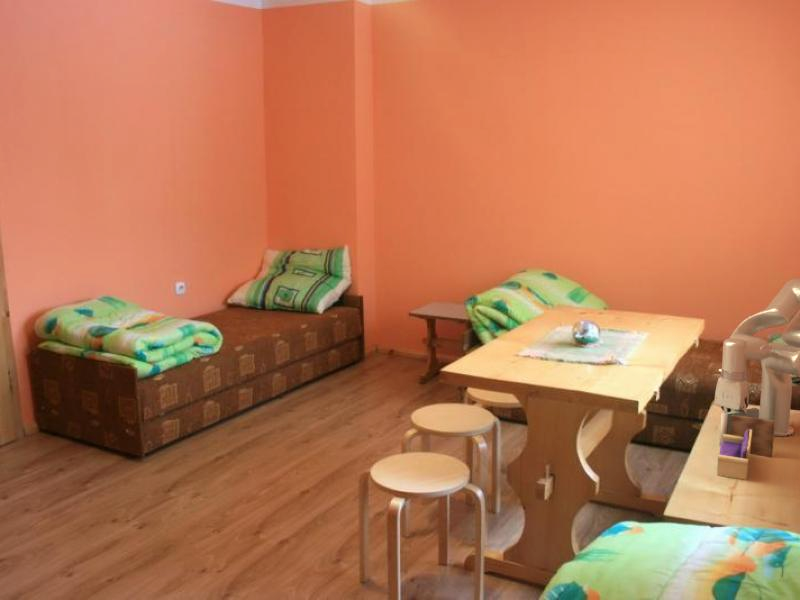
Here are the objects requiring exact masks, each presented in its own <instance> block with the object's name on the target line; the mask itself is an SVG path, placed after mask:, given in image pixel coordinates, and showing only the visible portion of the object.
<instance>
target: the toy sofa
mask: <svg viewBox="0 0 800 600" xmlns="http://www.w3.org/2000/svg"><path fill="white" fill-rule="evenodd" d="M751 438H752V429H747V430H746V431H745V434H744V437H740V436H734V435H728V434H723V440H722V444H721V445H720V447H719V453H718V454H717V466H716V467H717V470H716V471H717V472H716V473H717V474H716V475H717V476H719V477H720V476H721V477H727V478H731V479H738V480H748V471H749V470H748V468H749V463H750V457H751V454H750V449H751Z"/></svg>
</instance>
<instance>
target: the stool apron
mask: <svg viewBox="0 0 800 600" xmlns="http://www.w3.org/2000/svg"><path fill="white" fill-rule="evenodd" d="M774 425H775V420H767V419H760V418H753V417H746V416H738V415H732V420H731V435H734V436H740V437H744V434H745V431H746V430H747V429H752V438H751V449H750V455H754V456H761V457H766V458H773V452H774V450H773V449H774V437H775V436H774Z"/></svg>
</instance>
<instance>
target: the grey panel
mask: <svg viewBox="0 0 800 600" xmlns="http://www.w3.org/2000/svg"><path fill="white" fill-rule="evenodd" d="M746 409H747V413H745V414H744V412H743V411H740V410H738V411H732V412H726V413H724V412H721V413H720V429H719V446H721V444H722V440H723V434H728V435H731V420H732V415H738V416H746V417H753V418H759V412H760V408H757V407H752V408H746Z"/></svg>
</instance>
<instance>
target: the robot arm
mask: <svg viewBox="0 0 800 600" xmlns="http://www.w3.org/2000/svg"><path fill="white" fill-rule="evenodd" d="M782 326H786V327H785V328H784V330H783V331H782V334H781V339H782V342H784V343H781V342H769V341H768V340H766V339H765V338H762V337H761V338H760V337H757V336H755V334H757V333H759V332H761V331H764V330H767V329H772V328H778V327H782ZM722 343H723V345H722V358H721V359H722V361H721V368H719V370H718V372H719V373H720V374H721V375H720V376H718V379H717V382H716V387H715V392H714V403H715V405H716V406H717V407H718V408H720V409H721V410H722V411H723V413H726V412H732V411H738V410H740V411H743V412H744V414H745V413H747V409H748V407H749V398H750V397H749V395H750V394H749V384H748V380H747V361H760V365H761V387H760V388H761V389H760V400H759V401H760V402H759V418H760V419H767V420H775V425H774V437H788V436H787V435H789V436H791V434H792V435H793V434H794V433H795V432H794V428H793V427H792V426H790V420H791V419H790V417H791V416H790V415H791V404H792V392H793V380H792V376H794V377H798V378H799V377H800V278H793V279H790V280H788V281H787V282H786V283H785V284H784V285H783V287H782V288H781V289H780V290H779V291H778V293H777V294H776V295H775V296H774V298H773V299H772V300H771V302H770V303H769V304H768V305H767V307H766V308H765V309H763V310H760V311H757V312H756V313H755V314H752V315H750V316H748V317H747V318H746V319H744V320H742V321H741V322H740V323H739V324H738V325H737V327H736V328H735V329H734V330H733V332H732V333H731V335H730V336H729V338H725V340H724V341H723V342H722ZM793 432H794V433H793Z"/></svg>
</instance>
